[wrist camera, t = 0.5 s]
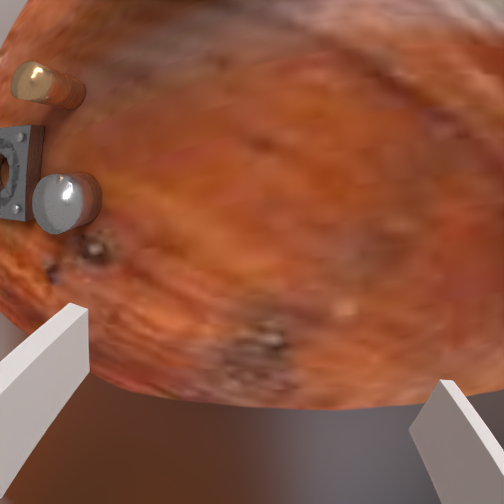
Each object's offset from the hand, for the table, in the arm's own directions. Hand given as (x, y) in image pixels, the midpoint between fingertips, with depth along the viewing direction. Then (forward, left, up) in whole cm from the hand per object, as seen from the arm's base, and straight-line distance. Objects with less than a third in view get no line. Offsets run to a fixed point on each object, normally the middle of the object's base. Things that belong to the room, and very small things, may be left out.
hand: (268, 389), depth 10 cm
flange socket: (-5, -35, -26) cm, 44 cm away
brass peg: (-15, -25, -26) cm, 39 cm away
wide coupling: (-2, -22, -26) cm, 34 cm away
